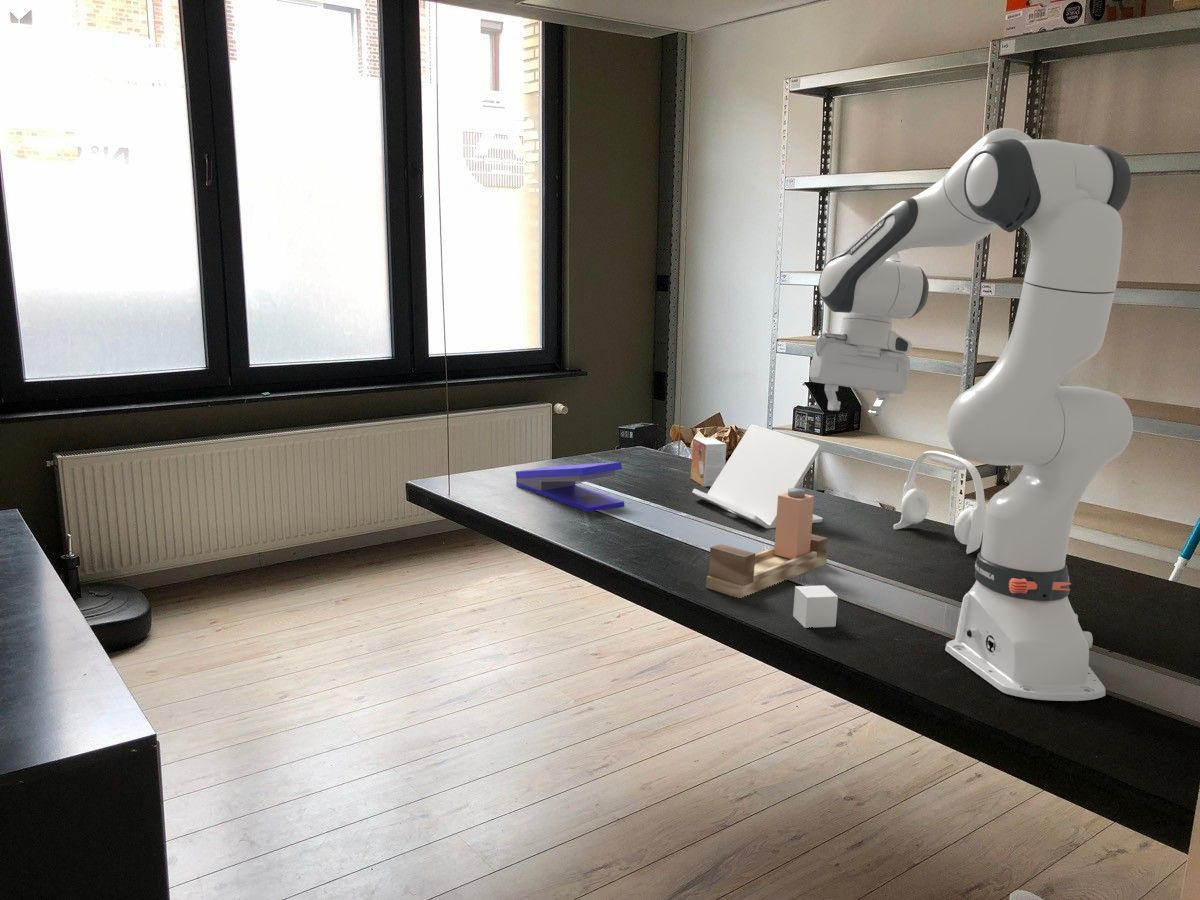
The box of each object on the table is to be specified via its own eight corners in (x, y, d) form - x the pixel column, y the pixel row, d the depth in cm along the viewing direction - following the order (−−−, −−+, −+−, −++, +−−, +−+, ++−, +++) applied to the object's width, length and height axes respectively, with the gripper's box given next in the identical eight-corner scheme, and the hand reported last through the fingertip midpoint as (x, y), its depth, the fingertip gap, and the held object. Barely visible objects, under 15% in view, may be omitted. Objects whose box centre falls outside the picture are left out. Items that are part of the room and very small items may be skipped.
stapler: (587, 514, 208) (588, 469, 206) (512, 487, 229) (513, 446, 227) (627, 506, 215) (629, 463, 213) (551, 480, 236) (552, 441, 234)
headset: (989, 553, 189) (1000, 463, 185) (962, 556, 186) (972, 465, 182) (916, 525, 206) (925, 443, 203) (890, 528, 203) (898, 444, 200)
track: (793, 554, 183) (796, 519, 182) (826, 563, 179) (829, 527, 177) (705, 587, 164) (708, 547, 163) (739, 598, 159) (742, 557, 158)
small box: (690, 479, 241) (692, 437, 239) (711, 478, 242) (713, 436, 240) (703, 487, 233) (705, 444, 231) (724, 486, 235) (726, 443, 233)
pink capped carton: (787, 549, 179) (792, 485, 177) (809, 554, 176) (814, 490, 174) (773, 554, 176) (778, 489, 173) (795, 560, 173) (800, 494, 170)
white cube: (822, 615, 154) (825, 585, 153) (835, 627, 149) (838, 596, 148) (792, 616, 153) (795, 586, 152) (804, 628, 148) (807, 597, 147)
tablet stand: (755, 494, 229) (760, 423, 225) (824, 522, 207) (830, 443, 203) (689, 501, 221) (693, 427, 217) (754, 531, 199) (759, 449, 195)
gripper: (829, 330, 170) (818, 408, 171) (919, 345, 179) (908, 420, 180) (807, 330, 176) (797, 406, 177) (895, 345, 185) (885, 417, 185)
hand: (854, 413), depth 178 cm, fingers open, 8 cm apart
